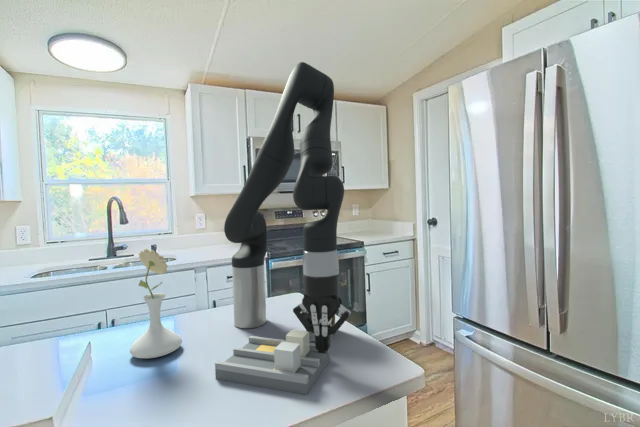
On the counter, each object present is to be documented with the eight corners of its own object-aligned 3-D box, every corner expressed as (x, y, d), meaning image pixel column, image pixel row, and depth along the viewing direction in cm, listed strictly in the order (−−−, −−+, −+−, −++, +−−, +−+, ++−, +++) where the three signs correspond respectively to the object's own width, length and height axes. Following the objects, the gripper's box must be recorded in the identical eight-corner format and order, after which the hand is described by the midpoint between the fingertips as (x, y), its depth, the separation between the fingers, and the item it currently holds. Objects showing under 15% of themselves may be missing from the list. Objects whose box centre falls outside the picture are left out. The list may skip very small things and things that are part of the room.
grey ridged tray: (215, 378, 68) (214, 363, 68) (251, 348, 82) (250, 335, 82) (306, 394, 62) (306, 377, 62) (329, 359, 75) (329, 345, 75)
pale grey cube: (274, 370, 66) (274, 349, 66) (282, 362, 69) (282, 341, 69) (293, 373, 65) (292, 351, 65) (300, 365, 68) (299, 343, 68)
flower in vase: (190, 350, 82) (185, 248, 80) (140, 369, 73) (134, 255, 72) (167, 336, 90) (163, 244, 89) (120, 351, 82) (115, 250, 81)
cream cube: (286, 355, 72) (285, 335, 72) (293, 348, 76) (292, 329, 76) (303, 358, 71) (302, 337, 71) (309, 350, 74) (309, 331, 74)
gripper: (284, 273, 69) (287, 355, 70) (346, 276, 65) (348, 364, 66) (298, 266, 76) (300, 340, 77) (355, 268, 72) (357, 347, 73)
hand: (323, 351), depth 72 cm, fingers closed
